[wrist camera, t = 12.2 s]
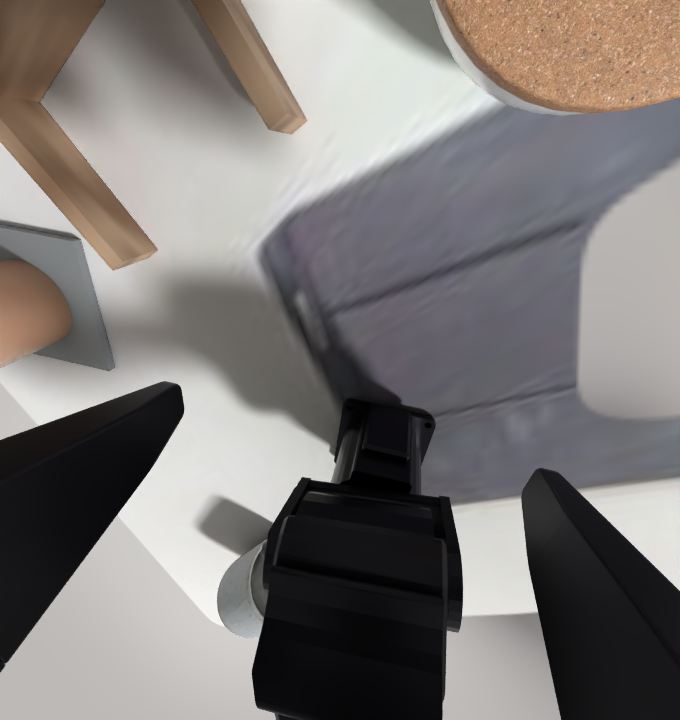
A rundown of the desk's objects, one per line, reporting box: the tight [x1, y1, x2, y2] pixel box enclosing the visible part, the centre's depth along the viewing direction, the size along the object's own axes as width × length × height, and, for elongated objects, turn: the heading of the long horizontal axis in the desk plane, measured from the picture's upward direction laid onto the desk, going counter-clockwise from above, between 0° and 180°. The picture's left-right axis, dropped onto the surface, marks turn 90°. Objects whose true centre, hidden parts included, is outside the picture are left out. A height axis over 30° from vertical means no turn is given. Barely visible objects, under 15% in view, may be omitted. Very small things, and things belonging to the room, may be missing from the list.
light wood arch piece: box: [0, 0, 307, 271], centre depth 14 cm, size 10×13×8 cm
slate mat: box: [0, 224, 115, 371], centre depth 25 cm, size 10×10×1 cm
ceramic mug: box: [217, 539, 268, 638], centre depth 34 cm, size 11×8×8 cm
